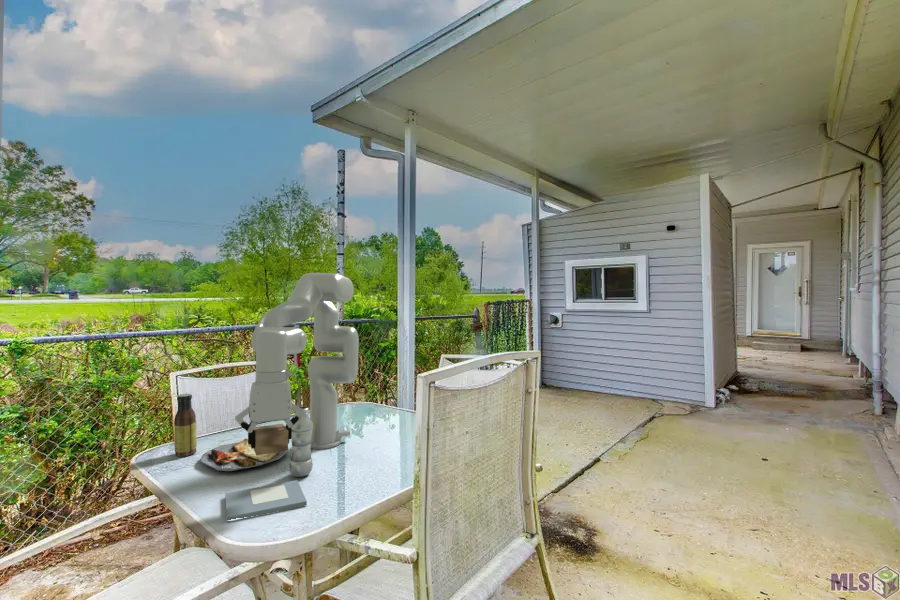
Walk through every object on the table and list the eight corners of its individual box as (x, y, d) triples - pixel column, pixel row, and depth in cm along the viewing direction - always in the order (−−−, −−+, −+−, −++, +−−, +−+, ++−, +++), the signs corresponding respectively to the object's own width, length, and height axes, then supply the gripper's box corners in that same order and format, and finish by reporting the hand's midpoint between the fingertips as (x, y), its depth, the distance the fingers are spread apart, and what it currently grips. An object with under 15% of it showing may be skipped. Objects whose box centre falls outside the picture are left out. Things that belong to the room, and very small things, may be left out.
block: (282, 441, 117) (282, 423, 117) (288, 450, 111) (288, 430, 111) (252, 446, 113) (252, 427, 113) (256, 455, 107) (256, 435, 106)
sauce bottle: (190, 449, 146) (191, 391, 146) (200, 453, 143) (201, 393, 143) (169, 455, 141) (170, 394, 141) (179, 459, 137) (180, 397, 137)
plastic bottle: (317, 472, 129) (318, 406, 129) (302, 481, 123) (303, 411, 123) (299, 469, 131) (300, 404, 131) (284, 477, 125) (285, 409, 125)
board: (297, 484, 121) (297, 479, 121) (306, 505, 109) (306, 500, 109) (225, 497, 112) (225, 492, 112) (226, 522, 100) (226, 517, 100)
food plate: (187, 460, 136) (187, 449, 136) (256, 442, 155) (256, 432, 155) (229, 483, 122) (229, 471, 122) (298, 459, 141) (299, 449, 141)
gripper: (303, 372, 119) (302, 435, 119) (233, 377, 111) (232, 444, 111) (308, 377, 113) (307, 443, 113) (234, 382, 104) (233, 454, 104)
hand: (270, 444), depth 112 cm, fingers closed on block, 7 cm apart
